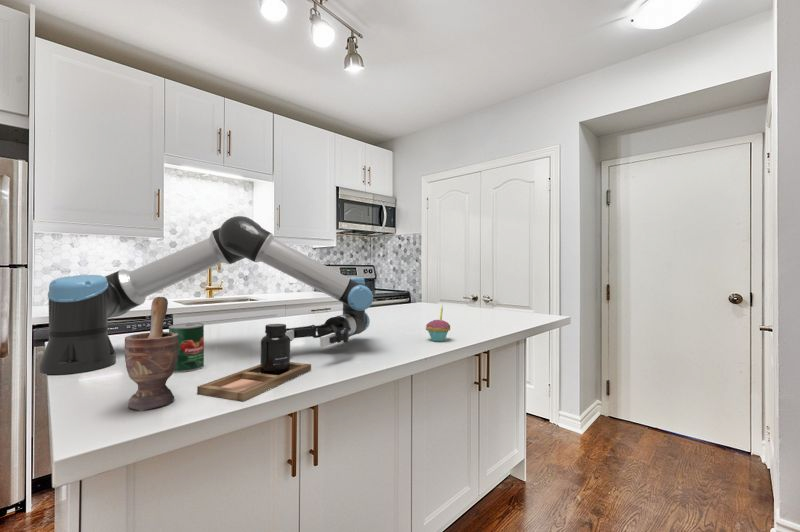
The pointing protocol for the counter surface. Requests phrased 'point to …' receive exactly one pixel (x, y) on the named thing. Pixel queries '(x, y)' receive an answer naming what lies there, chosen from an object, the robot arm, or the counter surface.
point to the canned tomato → (189, 346)
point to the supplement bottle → (275, 350)
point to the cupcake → (438, 329)
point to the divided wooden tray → (249, 382)
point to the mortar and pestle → (152, 360)
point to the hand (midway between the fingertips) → (299, 340)
